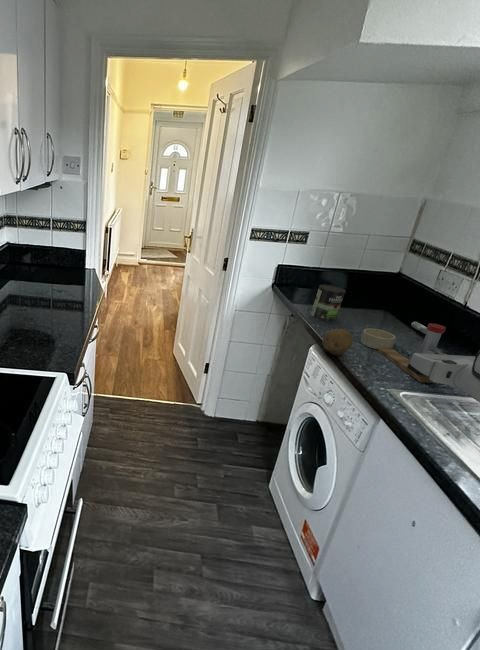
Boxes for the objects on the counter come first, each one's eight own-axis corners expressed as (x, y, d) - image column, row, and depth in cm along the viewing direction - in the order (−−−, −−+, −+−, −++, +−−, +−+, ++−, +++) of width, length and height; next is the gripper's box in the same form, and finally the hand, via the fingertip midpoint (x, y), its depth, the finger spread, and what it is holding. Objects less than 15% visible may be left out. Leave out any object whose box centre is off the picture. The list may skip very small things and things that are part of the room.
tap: (430, 374, 133) (450, 329, 127) (416, 374, 133) (435, 328, 127) (406, 358, 144) (423, 315, 138) (393, 357, 144) (409, 314, 138)
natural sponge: (331, 361, 142) (340, 335, 138) (312, 349, 150) (321, 324, 146) (352, 359, 145) (362, 334, 140) (333, 348, 152) (341, 323, 148)
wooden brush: (435, 383, 132) (437, 379, 131) (420, 382, 132) (421, 378, 131) (391, 352, 152) (392, 348, 151) (377, 351, 152) (378, 347, 151)
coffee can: (340, 323, 179) (351, 292, 172) (320, 323, 176) (330, 292, 170) (324, 313, 188) (334, 284, 182) (304, 314, 186) (313, 284, 179)
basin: (390, 344, 159) (395, 332, 157) (391, 354, 151) (396, 341, 149) (360, 338, 163) (364, 326, 161) (359, 346, 155) (363, 334, 153)
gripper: (507, 366, 117) (467, 345, 130) (435, 362, 117) (402, 341, 129) (497, 385, 119) (459, 363, 132) (426, 381, 119) (395, 359, 132)
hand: (430, 352), depth 131 cm, fingers closed
